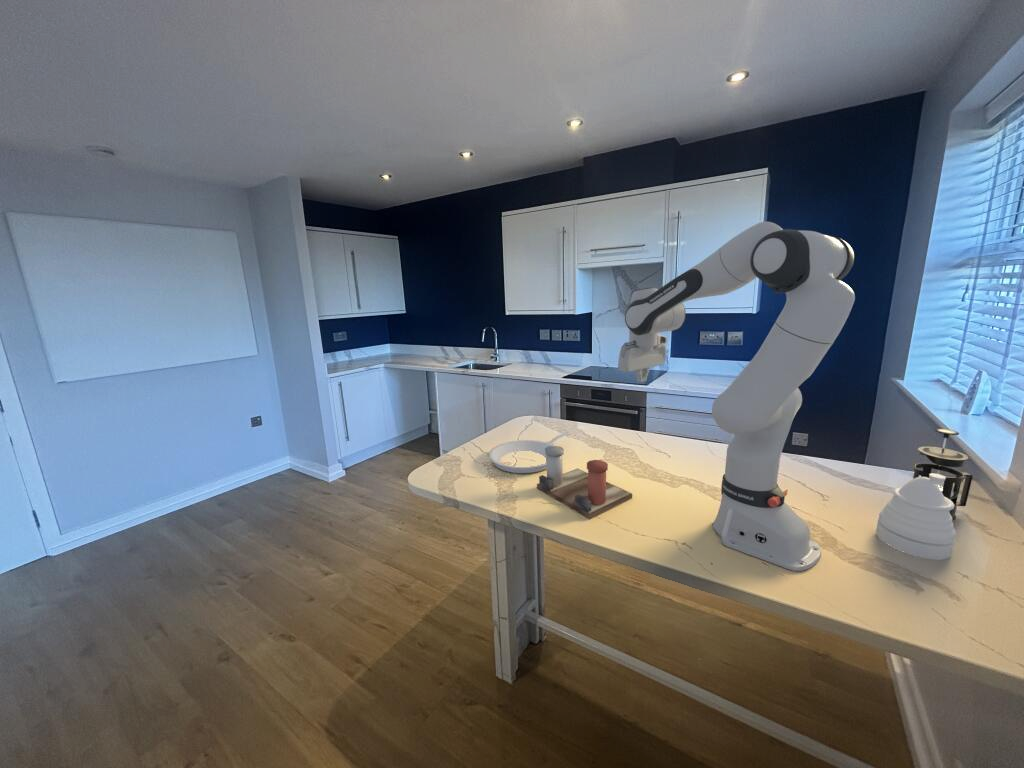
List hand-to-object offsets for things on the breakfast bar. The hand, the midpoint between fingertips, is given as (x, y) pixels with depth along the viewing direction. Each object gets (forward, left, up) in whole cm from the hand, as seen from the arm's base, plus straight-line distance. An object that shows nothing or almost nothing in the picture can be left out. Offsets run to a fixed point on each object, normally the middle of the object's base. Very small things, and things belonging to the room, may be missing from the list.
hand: (641, 381), depth 132 cm
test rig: (0, +27, -31) cm, 41 cm away
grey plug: (+8, +32, -29) cm, 44 cm away
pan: (+32, +20, -32) cm, 49 cm away
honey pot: (-66, -16, -31) cm, 75 cm away
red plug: (-8, +30, -29) cm, 42 cm away
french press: (-66, -37, -31) cm, 82 cm away
